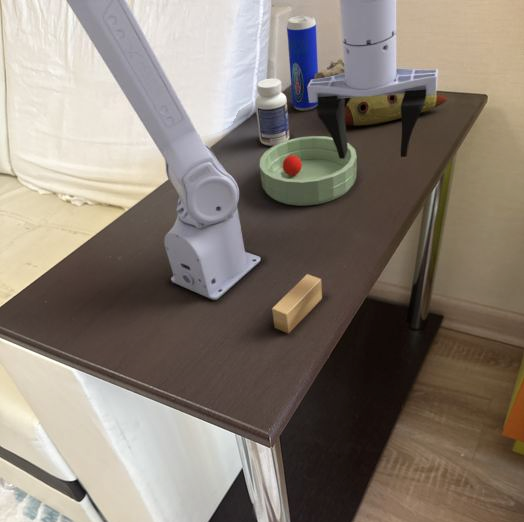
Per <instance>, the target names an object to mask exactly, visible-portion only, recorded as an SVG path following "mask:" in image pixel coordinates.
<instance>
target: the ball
mask: <svg viewBox="0 0 524 522" xmlns="http://www.w3.org/2000/svg"><path fill="white" fill-rule="evenodd" d="M301 168H302V163H301V160H300V159H299V158H298V157H297V156H294V155H291V156H288V157H287V158H285V160H284V162H283V170H284V172H285V173H286V174H288V175H290V176H294V175H296V174H298V173H299V172H300V170H301Z"/></svg>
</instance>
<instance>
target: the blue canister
mask: <svg viewBox="0 0 524 522" xmlns="http://www.w3.org/2000/svg"><path fill="white" fill-rule="evenodd" d="M286 33H287V34H286V35H287V46H288V47H287V49H288V60H289V73H290V85H291V99H292V106H293V107H294V109H296V110H298V111H302V112H303V111H304V112H305V111H311V110H314V109H315V108H317V107H318V102H315V103H309V97H308V89H307V86H308V84H309V83H310V81H311V80H312V79H314V76H315V74H316V73H318V72H319V67H318V66H319V65H318V63H319V62H318V43H317V42H318V41H317V23H316V20H315V17H314V15H310V14H301V15H296V16H293V17H290V18H288V20H287V25H286Z"/></svg>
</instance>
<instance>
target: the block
mask: <svg viewBox="0 0 524 522" xmlns="http://www.w3.org/2000/svg"><path fill="white" fill-rule="evenodd" d="M322 299H323V290H322V279H321V278H319V277H317V276H313V275H311V274H309V273H306V274H305V276H303V277H302V279H301V280H299V281H298V283H297V284H295V285H294V287H292V288H291V289H290V290H289V291H288V292H287V293H286V294H285V295H284V296H283V297H282V298H281V299H280V300H279V301H278V302H277V303H276V304H275V305H274V306H273V307H272V308H271V311H272V318H273V325H274V329H276V330H279V331H282V332H283V333H286V334H287V335H289V334H290V333H291V332H292V331H293V330H294V329H295V328H296V326H298V325H299V323H300V322H301V321H302V320H303V319H304V318H305V317H306V316H307V315H308V314H309V313H310V312H311V311H312V310H313V309H314V308H315V307H316V306H317V305H318V303H320V302H321V301H322Z"/></svg>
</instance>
